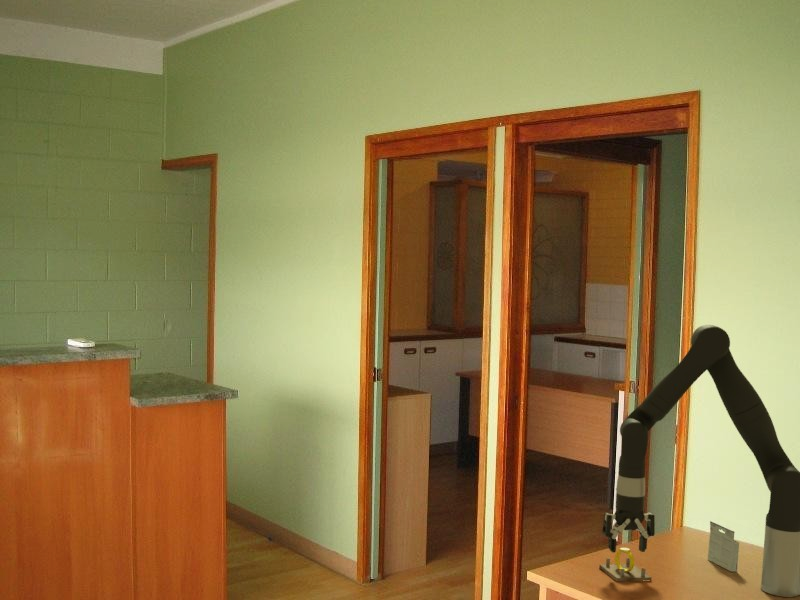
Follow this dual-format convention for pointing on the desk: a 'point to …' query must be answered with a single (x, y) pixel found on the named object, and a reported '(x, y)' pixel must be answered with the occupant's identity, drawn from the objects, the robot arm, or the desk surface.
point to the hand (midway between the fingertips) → (627, 551)
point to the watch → (627, 550)
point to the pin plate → (624, 576)
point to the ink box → (723, 547)
